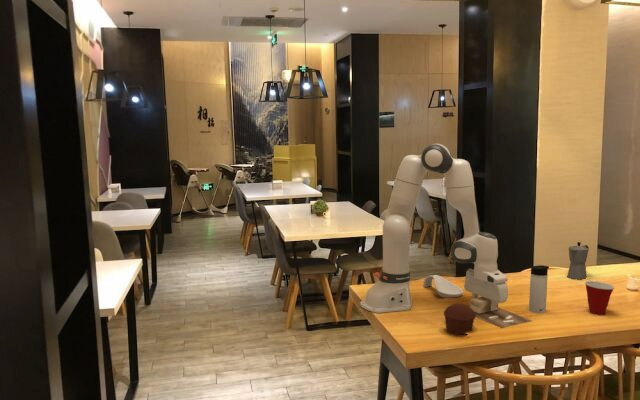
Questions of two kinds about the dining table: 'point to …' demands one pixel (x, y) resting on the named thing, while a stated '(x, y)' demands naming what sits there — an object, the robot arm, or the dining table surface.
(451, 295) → the spoon rest
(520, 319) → the walnut board
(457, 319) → the muffin
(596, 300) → the plastic cup
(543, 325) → the dining table surface
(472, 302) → the sanding block
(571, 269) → the coffeepot
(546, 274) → the travel mug
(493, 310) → the robot arm
